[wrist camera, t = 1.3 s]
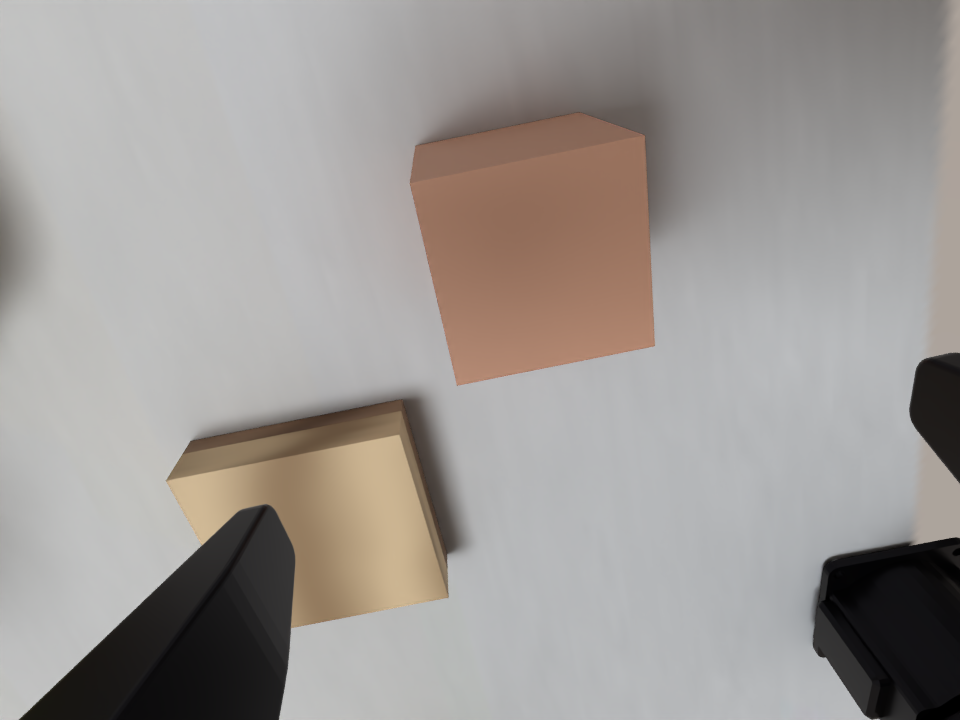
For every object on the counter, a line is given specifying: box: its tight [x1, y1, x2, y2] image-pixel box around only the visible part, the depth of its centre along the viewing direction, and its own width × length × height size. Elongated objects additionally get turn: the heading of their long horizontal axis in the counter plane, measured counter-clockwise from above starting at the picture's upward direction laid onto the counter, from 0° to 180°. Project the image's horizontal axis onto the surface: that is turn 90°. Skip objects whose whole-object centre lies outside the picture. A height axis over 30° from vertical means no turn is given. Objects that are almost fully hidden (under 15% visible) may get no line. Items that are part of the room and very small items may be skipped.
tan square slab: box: [166, 411, 448, 628], centre depth 22 cm, size 8×8×2 cm
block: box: [410, 112, 655, 386], centre depth 16 cm, size 5×5×6 cm
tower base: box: [183, 399, 447, 565], centre depth 23 cm, size 8×8×2 cm
